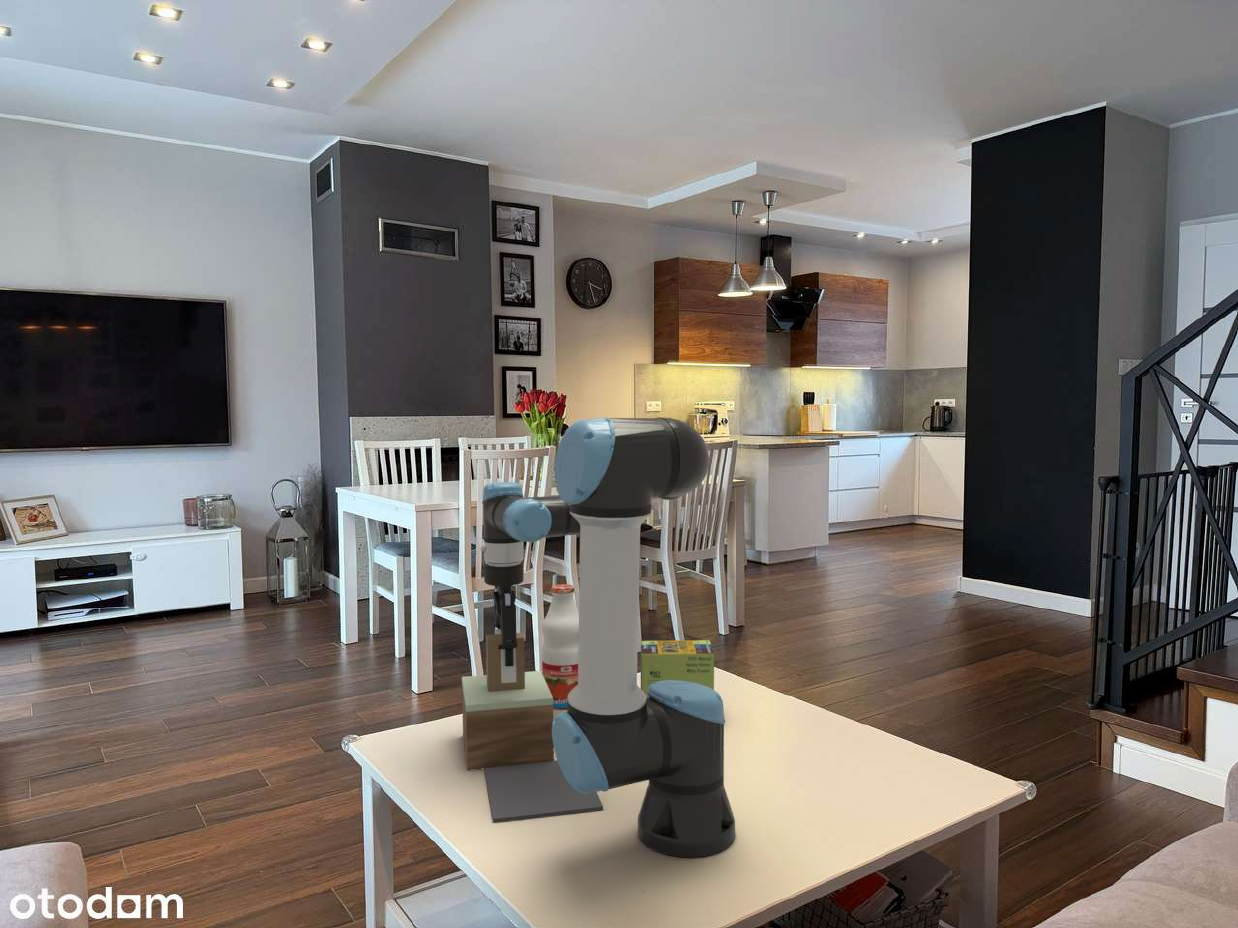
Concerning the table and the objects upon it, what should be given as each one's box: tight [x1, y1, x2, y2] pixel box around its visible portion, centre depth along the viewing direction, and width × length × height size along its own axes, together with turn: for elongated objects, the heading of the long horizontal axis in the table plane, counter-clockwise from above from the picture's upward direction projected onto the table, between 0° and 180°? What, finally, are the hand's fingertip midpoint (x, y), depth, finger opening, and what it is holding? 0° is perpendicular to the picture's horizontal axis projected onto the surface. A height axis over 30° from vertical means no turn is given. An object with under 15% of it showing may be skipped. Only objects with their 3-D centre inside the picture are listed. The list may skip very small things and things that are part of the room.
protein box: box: [640, 639, 715, 697], centre depth 182 cm, size 10×15×16 cm
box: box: [461, 685, 555, 771], centre depth 166 cm, size 17×16×11 cm
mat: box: [483, 760, 604, 823], centre depth 148 cm, size 20×18×1 cm
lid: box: [461, 632, 553, 712], centre depth 165 cm, size 17×16×11 cm
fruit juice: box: [541, 583, 579, 721], centre depth 184 cm, size 9×9×28 cm
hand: (505, 671), depth 165 cm, fingers open, 13 cm apart
